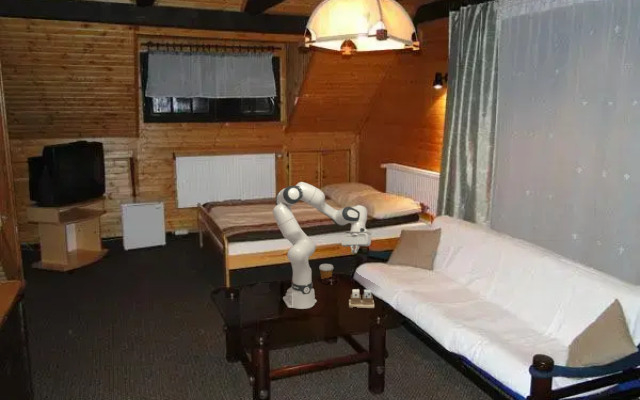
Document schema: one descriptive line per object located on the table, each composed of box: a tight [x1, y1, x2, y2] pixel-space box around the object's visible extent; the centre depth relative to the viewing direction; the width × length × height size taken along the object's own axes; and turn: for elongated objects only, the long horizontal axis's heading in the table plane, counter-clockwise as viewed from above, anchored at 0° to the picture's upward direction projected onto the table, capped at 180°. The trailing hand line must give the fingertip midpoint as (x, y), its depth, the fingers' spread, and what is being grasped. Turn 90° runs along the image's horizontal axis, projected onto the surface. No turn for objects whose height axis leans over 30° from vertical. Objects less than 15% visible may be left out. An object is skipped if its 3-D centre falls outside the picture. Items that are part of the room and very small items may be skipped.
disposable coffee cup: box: [318, 263, 335, 280], centre depth 353 cm, size 10×10×12 cm
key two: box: [363, 289, 372, 298], centre depth 317 cm, size 4×4×8 cm
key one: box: [351, 288, 360, 298], centre depth 318 cm, size 4×4×8 cm
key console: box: [348, 293, 375, 309], centre depth 318 cm, size 9×15×5 cm, turn 87°
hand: (354, 252), depth 324 cm, fingers closed
